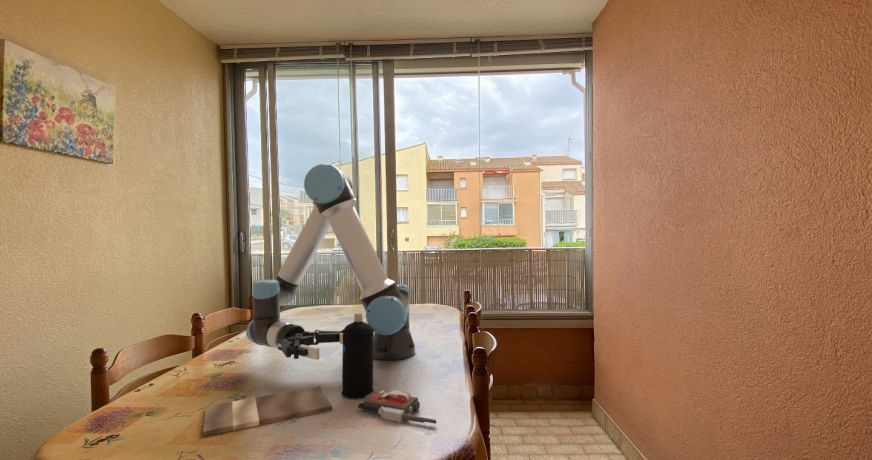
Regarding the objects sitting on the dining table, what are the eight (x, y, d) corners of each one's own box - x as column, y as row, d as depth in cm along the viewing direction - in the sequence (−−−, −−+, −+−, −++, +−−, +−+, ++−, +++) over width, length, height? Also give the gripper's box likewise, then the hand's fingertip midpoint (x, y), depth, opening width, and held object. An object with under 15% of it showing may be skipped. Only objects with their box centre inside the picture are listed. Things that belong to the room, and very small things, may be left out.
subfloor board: (319, 389, 109) (319, 386, 109) (332, 410, 97) (332, 405, 97) (205, 410, 97) (205, 406, 97) (203, 436, 85) (202, 431, 85)
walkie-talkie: (352, 415, 94) (434, 431, 87) (352, 396, 94) (434, 409, 87) (372, 401, 102) (449, 414, 95) (372, 382, 102) (449, 394, 95)
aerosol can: (380, 389, 109) (380, 312, 109) (363, 401, 101) (363, 317, 102) (352, 385, 112) (353, 310, 112) (334, 396, 104) (335, 315, 105)
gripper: (321, 340, 131) (371, 350, 120) (247, 361, 111) (299, 376, 99) (320, 316, 131) (371, 323, 120) (246, 332, 111) (298, 344, 99)
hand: (338, 347), depth 109 cm, fingers open, 13 cm apart
